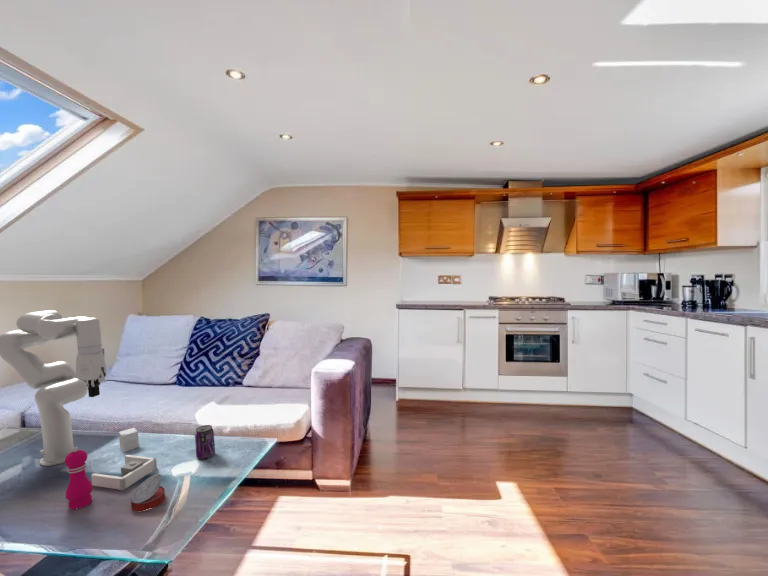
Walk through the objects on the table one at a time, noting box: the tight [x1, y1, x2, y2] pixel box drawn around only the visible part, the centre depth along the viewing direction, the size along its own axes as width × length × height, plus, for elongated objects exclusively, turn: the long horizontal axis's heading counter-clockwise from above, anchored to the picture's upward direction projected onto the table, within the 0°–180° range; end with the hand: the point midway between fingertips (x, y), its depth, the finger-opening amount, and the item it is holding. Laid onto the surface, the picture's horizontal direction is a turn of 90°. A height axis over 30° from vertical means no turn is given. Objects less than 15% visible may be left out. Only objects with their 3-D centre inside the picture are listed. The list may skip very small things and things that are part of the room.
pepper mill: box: [64, 446, 93, 510], centre depth 133 cm, size 7×7×20 cm
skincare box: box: [118, 427, 140, 453], centre depth 174 cm, size 6×6×7 cm
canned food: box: [130, 473, 166, 513], centre depth 134 cm, size 11×10×10 cm
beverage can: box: [194, 424, 216, 460], centre depth 164 cm, size 7×7×12 cm
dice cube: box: [120, 461, 143, 477], centre depth 150 cm, size 5×5×5 cm
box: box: [90, 454, 158, 491], centre depth 150 cm, size 14×15×4 cm
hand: (94, 395), depth 156 cm, fingers closed
